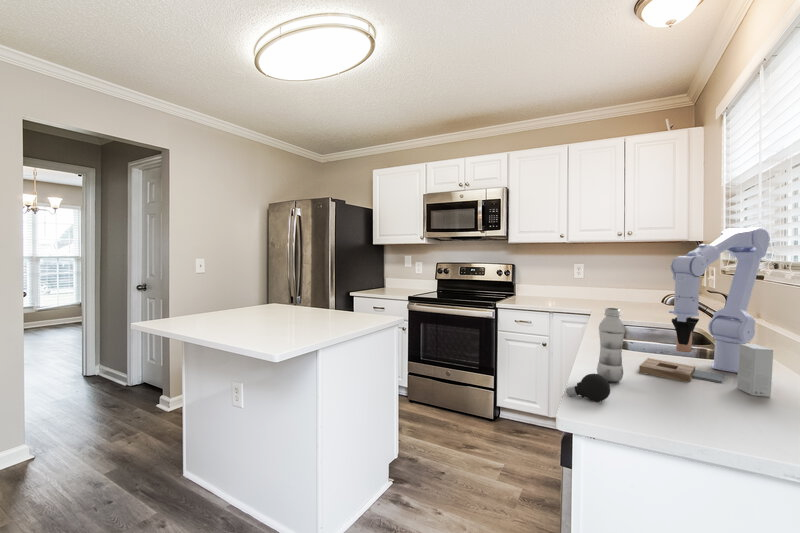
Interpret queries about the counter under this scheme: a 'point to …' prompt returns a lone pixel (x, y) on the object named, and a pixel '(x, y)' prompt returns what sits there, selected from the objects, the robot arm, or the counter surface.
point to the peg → (684, 346)
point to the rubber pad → (708, 376)
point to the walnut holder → (667, 369)
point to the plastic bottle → (611, 346)
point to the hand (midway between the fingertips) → (684, 343)
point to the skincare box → (755, 369)
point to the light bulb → (591, 388)
